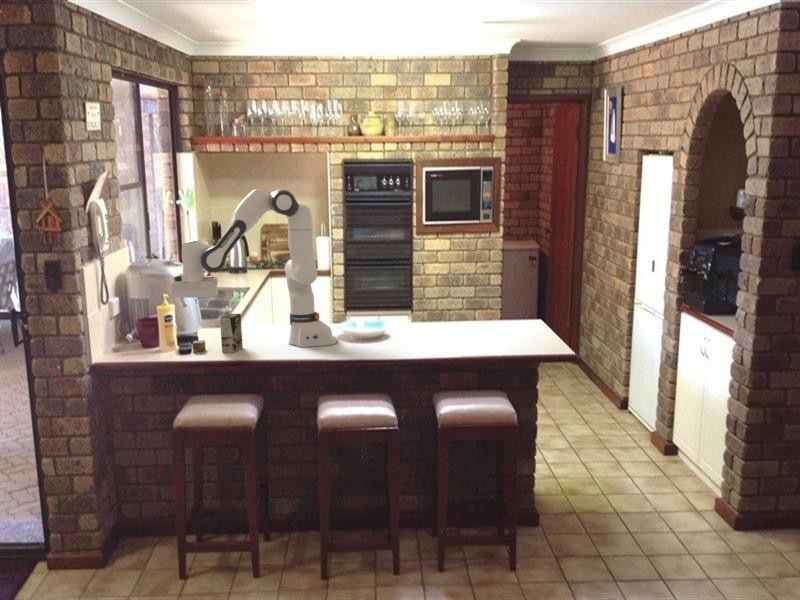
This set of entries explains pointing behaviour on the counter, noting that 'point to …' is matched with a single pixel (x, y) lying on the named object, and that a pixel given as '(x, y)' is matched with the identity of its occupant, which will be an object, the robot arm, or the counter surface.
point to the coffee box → (231, 333)
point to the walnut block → (199, 346)
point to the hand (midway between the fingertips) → (195, 307)
